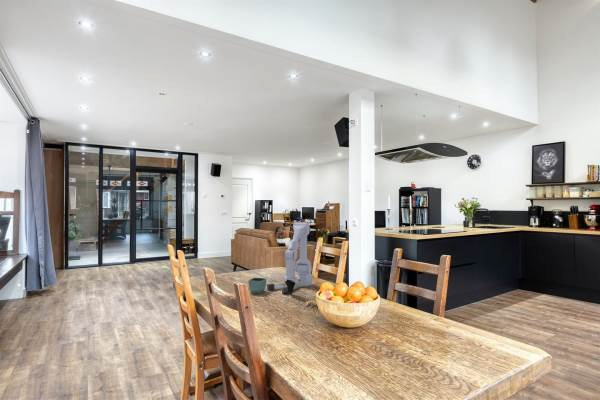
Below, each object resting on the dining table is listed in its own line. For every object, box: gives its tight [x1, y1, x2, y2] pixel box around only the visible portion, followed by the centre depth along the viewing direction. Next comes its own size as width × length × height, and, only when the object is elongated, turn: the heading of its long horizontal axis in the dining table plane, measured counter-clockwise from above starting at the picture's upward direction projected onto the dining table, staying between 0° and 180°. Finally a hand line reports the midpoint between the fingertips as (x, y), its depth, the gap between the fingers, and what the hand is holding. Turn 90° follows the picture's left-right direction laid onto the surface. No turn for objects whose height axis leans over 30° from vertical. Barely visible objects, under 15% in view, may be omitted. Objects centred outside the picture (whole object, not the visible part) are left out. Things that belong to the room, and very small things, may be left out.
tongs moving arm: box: [281, 283, 299, 295], centre depth 211 cm, size 18×2×4 cm, turn 156°
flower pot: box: [248, 277, 267, 294], centre depth 208 cm, size 9×9×9 cm
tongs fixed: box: [266, 279, 304, 292], centre depth 217 cm, size 24×5×5 cm, turn 124°
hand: (290, 292), depth 202 cm, fingers closed
